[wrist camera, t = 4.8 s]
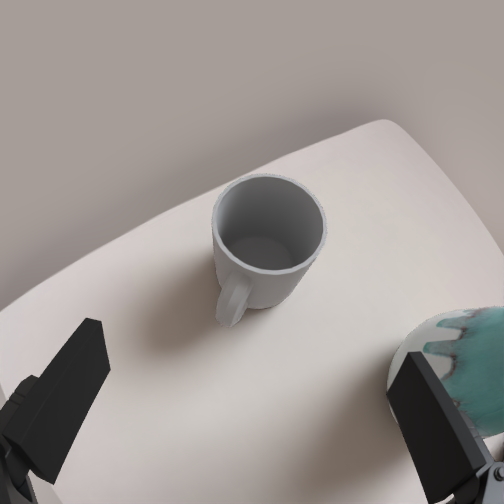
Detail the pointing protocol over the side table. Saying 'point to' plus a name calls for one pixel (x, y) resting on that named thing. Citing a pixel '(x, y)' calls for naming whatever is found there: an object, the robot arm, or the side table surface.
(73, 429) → the robot arm
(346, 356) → the side table surface
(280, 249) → the cup
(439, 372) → the vase
